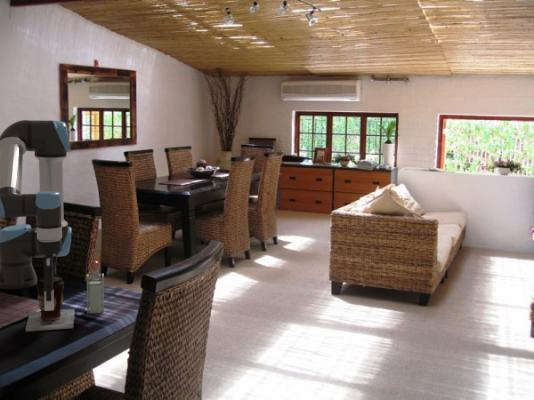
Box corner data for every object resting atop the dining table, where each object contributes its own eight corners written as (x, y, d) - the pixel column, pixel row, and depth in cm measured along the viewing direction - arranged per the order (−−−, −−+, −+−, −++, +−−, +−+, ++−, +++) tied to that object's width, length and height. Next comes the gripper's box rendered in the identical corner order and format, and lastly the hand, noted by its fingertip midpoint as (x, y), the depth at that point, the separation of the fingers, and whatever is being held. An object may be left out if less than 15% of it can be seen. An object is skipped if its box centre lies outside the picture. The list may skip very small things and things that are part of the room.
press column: (87, 309, 203) (86, 273, 201) (103, 308, 205) (103, 273, 203) (87, 313, 199) (86, 277, 198) (104, 312, 201) (103, 276, 199)
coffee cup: (55, 323, 185) (53, 283, 183) (31, 320, 187) (30, 281, 185) (69, 314, 194) (68, 276, 192) (47, 312, 195) (46, 274, 194)
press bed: (30, 316, 195) (30, 311, 195) (74, 313, 199) (74, 309, 199) (25, 331, 182) (25, 326, 182) (72, 328, 186) (72, 323, 186)
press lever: (89, 283, 200) (89, 275, 202) (100, 282, 201) (100, 274, 203) (89, 268, 188) (89, 260, 189) (100, 268, 189) (100, 259, 190)
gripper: (40, 231, 197) (41, 292, 201) (32, 249, 174) (34, 317, 177) (63, 231, 199) (64, 291, 203) (59, 248, 176) (60, 315, 179)
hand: (50, 303), depth 190 cm, fingers open, 13 cm apart
